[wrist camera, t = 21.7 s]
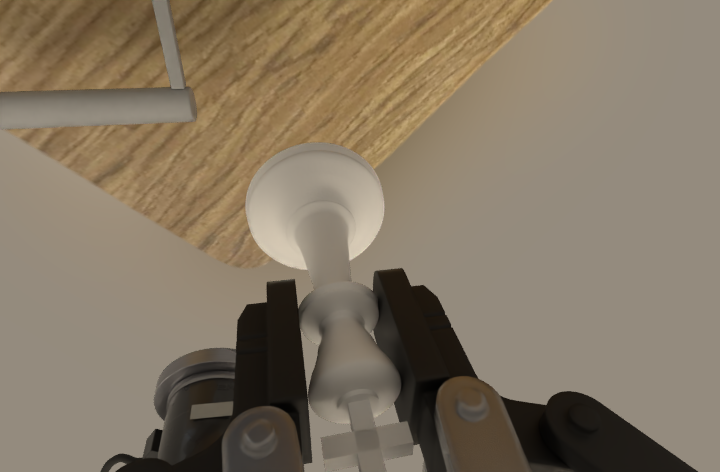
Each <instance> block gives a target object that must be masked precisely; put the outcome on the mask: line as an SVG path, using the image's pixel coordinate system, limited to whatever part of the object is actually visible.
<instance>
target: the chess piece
mask: <svg viewBox="0 0 720 472" xmlns="http://www.w3.org/2000/svg"><path fill="white" fill-rule="evenodd" d="M246 216H247V220H248V224H249V228H250V231H251V234H252V236H253V238H254V240H255V241H256V243H257V244H258V245H259V247H260V248H261V249H262V250H263V251H264V252H265V253H266V254H267V255H268V256H270V257H271V258H272V259H274V260H276V261H278V262H279V263H281V264H284V265H286V266H289V267H292V268H297V269H302V270H308V272H309V275H310V278H311V281H312V284H313V288H314V290H313V291H312V292H311V293H310V294H308V295H307V296H306V297H305V298H304V300H303V301H302V303H301V304H300V306H299V309H298V313H299V322H300V329H301V330H302V332H303V334H304V335H305V336H306V338H307V339H308V340H310V341H311V342H313V343H315V344H317V345H319V349H318V356H317V361H316V365H315V368H314V370H313V373H312V376H311V381H310V385H309V391H308V398H309V404H310V406H311V408H312V409H313V411H314V412H315V413H316V414H317V415H318V416H319V417H321V418H323V419H325V420H327V421H330V422H333V423H339V424H351V429H352V432H348V433H343V434H337V435H332V436H327V437H322V438H321V442H322V450H323V458H324V466H325V472H329V471H334V470H339V469H344V468H349V467H354V466H358V467H359V472H386V468H385V464H384V460H389V459H393V458H398V457H403V456H408V455H412V454H413V443H414V442H413V438H412V435H411V432H410V429H409V425H408V422H407V421H405V422H400V423H395V424H390V425H384V426H379V427H376V426H375V422H374V418H375V417H377V416H379V415H380V414H382V413H383V412H385V411H386V410H387V409H388V408H390V406H391V405H392V404H393V403H394V402H395V401H396V399H397V397H398V395H399V393H400V390H401V377H400V374H399V372H398V370H397V369H396V367H395V366H394V364H393V363H392V361H391V360H390V359H389V358H388V356H387V355H386V354H385V353H384V352H382V350H381V349H380V348H379V347H378V345H377V344H376V343H375V341H374V339H373V338H372V336H371V335H370V333H371V331H372V330H373V329H374V328H375V326H376V324H377V322H378V318H379V309H378V298H377V296H376V295H375V294H374V292H373V291H372V290H370V289H369V288H368V287H366V286H364V285H362V284H359V283H356V282H352V281H351V272H350V262H349V261H350V260H352V259H353V258H355V257H357V256H358V255H359V254H361V253H362V252H363V251H364V250H365V249H366V248H367V247H368V246H369V245H370V244H371V243H372V241H373V240H374V239H375V237H376V236H377V234H378V232H379V230H380V227H381V224H382V222H383V217H384V197H383V192H382V187H381V183H380V181H379V178H378V176H377V174H376V172H375V171H374V169H373V168H372V167H371V165H370V164H369V163H368V162H367V161H366V160H365V159H364V158H362V157H361V156H360V155H358V154H357V153H355V152H354V151H352V150H350V149H348V148H345V147H342V146H339V145H336V144H331V143H321V142H313V143H305V144H300V145H296V146H293V147H290V148H287V149H285V150H283V151H281V152H279V153H277V154H276V155H274V156H273V157H271V158H270V159H269V160H268V161H266V162H265V163H264V164H263V165H262V166H261V167H260V169H259V170H258V171H257V173H256V174H255V175H254V177H253V179H252V181H251V183H250V185H249V188H248V191H247V195H246Z"/></svg>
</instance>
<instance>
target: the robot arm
mask: <svg viewBox="0 0 720 472" xmlns="http://www.w3.org/2000/svg"><path fill="white" fill-rule="evenodd" d="M373 292H374V294H375V295H376V296H377V298H378V309H379V318H378V322H377V324H376V326H375V328H374V329H373V331H374V335H375V339H376V343H377V345H378V347H379V348H380V349H381V350H382V352H384V353H385V354H386V355H387V356H388V358H389V359H390V360H391V361H392V363H393V364H394V366H395V367H396V369H397V370H398V372H399V374H400V377H401V390H400V393H399V395H398V397H397V399H396V401H395V402H394V405H395V408H396V412H397V415H398V418H399V422H405V421H407V422H408V425H409V429H410V432H411V435H412V438H413V442H414V443H413V445H417V444H420V448H421V451H422V454H423V457H424V463H423V472H698V471H696V470H695V469H693V468H692V467H690V466H689V465H688V464H686V463H685V462H683V461H682V460H681V459H679V458H678V457H676V456H675V455H673V454H672V453H670V452H669V451H668V450H666V449H665V448H663V447H662V446H661V445H659V444H658V443H656V442H655V441H654V440H652V439H651V438H649V437H648V436H646V435H645V434H644V433H642V432H641V431H639V430H638V429H637V428H635V427H634V426H632V425H631V424H630V423H628V422H627V421H625V420H624V419H622V418H621V417H619V416H618V415H617V414H615V413H614V412H613V411H611V410H610V409H608V408H607V407H605V406H604V405H603V404H601V403H600V402H598V401H597V400H595V399H593V398H591V397H589V396H587V395H584V394H582V393H578V392H571V391H567V392H560V393H557V394H555V395H553V396H552V397H551V398H550V399H549V401H548V403H547V405H541V404H534V403H527V402H521V401H515V400H510V399H507V398H504V397H502V396H500V395H499V394H498V393H497V392H496V391H495V390H494V389H493V388H492V387H491V386H490V385H489V384H487V383H485V382H484V381H481V380H479V379H478V377H477V375H476V374H475V372H474V370H473V368H472V366H471V364H470V362H469V360H468V358H467V356H466V354H465V352H464V350H463V348H462V346H461V344H460V342H459V340H458V338H457V336H456V334H455V332H454V330H453V328H451V324H450V322H449V320H448V317H447V316H446V315H445V311H444V310H443V308H442V305H441V303H440V301H439V300H438V298H437V296H435V295H434V294H433V293H432V292H431V291H429V290H428V289H427V288H426V287H425V286H424V285H420V286H411V285H410V283H409V281H408V278H407V276H406V274H405V272H404V270H403V269H402V268H400V269H391V270H380V271H375V272H374V279H373ZM166 411H167V412H166V417H165V422H164V427H163V430H159V429H155V430H154V431H153V433H152V434H151V435H150V436H149V437H148V439H147V441H146V446H145V450H144V454H143V458H135V457H132V456H130V455H127V454H118V455H115V456H114V457H112V458H111V459H109V460H108V461H107V462H106V463H105V465H104V466H103V468H102V470H101V472H109V470H110V469H111V467H112V466H113V465H114V464H116V463H118V462H124V463H126V464H127V465H125V466H123V467H121V468H120V469H118V470H117V471H116V472H304V464H306V463H312V452H311V438H310V424H309V410H308V397H307V387H306V378H305V369H304V359H303V350H302V341H301V331H300V322H299V313H298V304H297V295H296V285H295V279H291V280H281V281H273V282H267V302H265V303H257V304H248V305H247V306H246V307H245V309H244V311H243V313H242V314H241V316H240V317H239V319H238V324H237V342H236V361H235V372H233V371H220V370H218V371H207V372H202V373H198V374H195V375H192V376H190V377H188V378H186V379H184V380H182V381H181V382H179V383H178V384H177V385H176V386H175V387H174V388H173V389H172V391H171V392H170V394H169V397H168V401H167V406H166Z"/></svg>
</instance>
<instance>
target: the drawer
mask: <svg viewBox="0 0 720 472" xmlns="http://www.w3.org/2000/svg"><path fill="white" fill-rule="evenodd" d="M152 3H153V8H154V12H155V17H156V22H157V26H158V31H159V35H160V40H161V44H162V49H163V54H164V58H165V63H166V67H167V72H168V76H169V81H170V86H171V87H161V88H125V89H89V90H54V91H18V92H0V130H1V129H25V128H50V127H75V126H100V125H124V124H149V123H174V122H194V121H196V118H197V108H196V101H195V96H194V93H193V90H192V88H191V87H186V81H185V76H184V71H183V66H182V61H181V56H180V51H179V46H178V41H177V36H176V31H175V26H174V21H173V16H172V11H171V6H170V1H169V0H152Z"/></svg>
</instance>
